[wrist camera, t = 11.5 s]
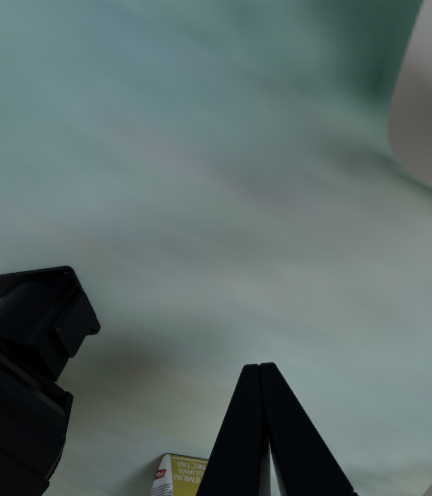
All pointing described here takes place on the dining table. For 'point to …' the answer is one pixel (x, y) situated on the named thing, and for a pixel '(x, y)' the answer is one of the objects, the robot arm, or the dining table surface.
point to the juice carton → (178, 476)
